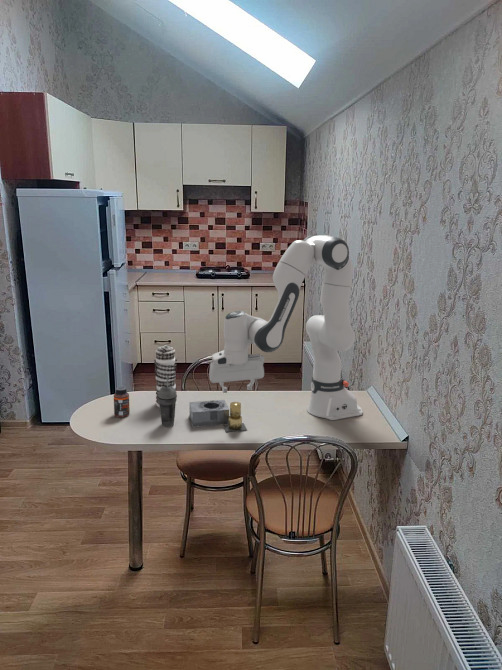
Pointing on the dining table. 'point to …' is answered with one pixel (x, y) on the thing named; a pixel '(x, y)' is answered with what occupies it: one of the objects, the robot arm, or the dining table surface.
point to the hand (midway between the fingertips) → (237, 391)
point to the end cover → (235, 416)
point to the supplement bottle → (121, 402)
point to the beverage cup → (167, 405)
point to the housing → (209, 413)
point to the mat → (234, 430)
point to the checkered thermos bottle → (165, 368)
